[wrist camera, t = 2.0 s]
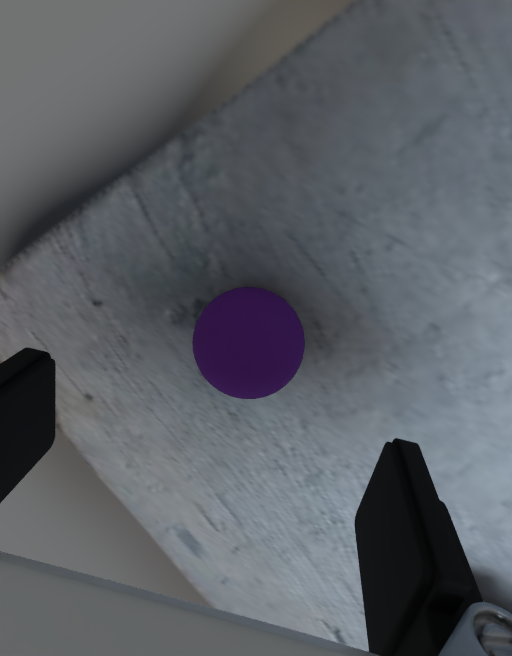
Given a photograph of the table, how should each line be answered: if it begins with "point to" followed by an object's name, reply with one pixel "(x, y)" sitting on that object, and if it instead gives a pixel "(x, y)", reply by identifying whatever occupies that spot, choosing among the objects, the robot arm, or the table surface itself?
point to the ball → (248, 343)
